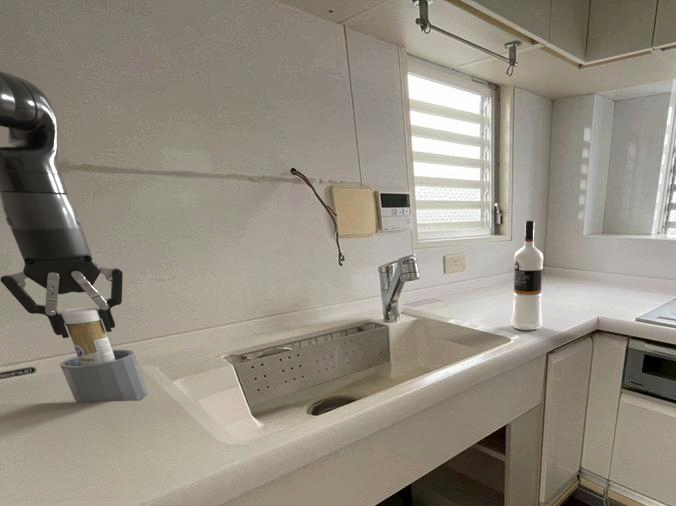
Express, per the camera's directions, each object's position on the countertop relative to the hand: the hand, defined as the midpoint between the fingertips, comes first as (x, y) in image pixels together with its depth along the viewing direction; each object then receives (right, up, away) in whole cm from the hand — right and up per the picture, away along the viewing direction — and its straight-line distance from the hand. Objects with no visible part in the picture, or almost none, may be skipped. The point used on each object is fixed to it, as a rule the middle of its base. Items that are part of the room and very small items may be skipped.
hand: (87, 333), depth 67 cm
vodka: (+77, +7, +54) cm, 95 cm away
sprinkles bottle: (0, -9, +4) cm, 10 cm away
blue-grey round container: (0, -12, +5) cm, 12 cm away
